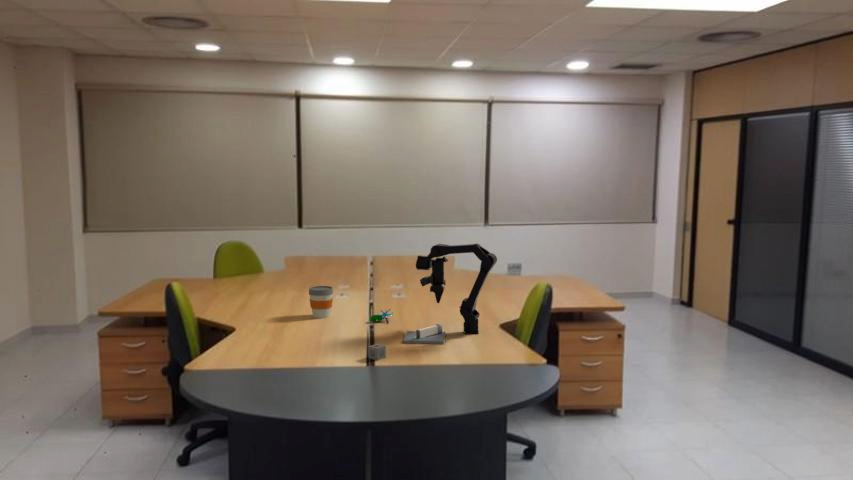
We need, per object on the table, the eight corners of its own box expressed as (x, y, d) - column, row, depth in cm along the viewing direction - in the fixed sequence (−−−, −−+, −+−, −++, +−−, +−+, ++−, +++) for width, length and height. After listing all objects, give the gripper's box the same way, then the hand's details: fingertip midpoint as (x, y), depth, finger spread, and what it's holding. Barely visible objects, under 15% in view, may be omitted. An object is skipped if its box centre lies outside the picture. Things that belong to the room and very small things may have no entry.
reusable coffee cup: (328, 319, 325) (328, 290, 323) (305, 318, 328) (304, 290, 326) (337, 313, 337) (336, 286, 336) (314, 312, 340) (314, 285, 338)
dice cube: (376, 355, 264) (376, 343, 264) (385, 357, 261) (385, 345, 261) (368, 358, 260) (368, 346, 260) (377, 360, 257) (377, 348, 257)
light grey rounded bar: (438, 331, 295) (438, 323, 295) (443, 332, 293) (443, 325, 292) (414, 337, 285) (414, 330, 284) (419, 339, 282) (419, 331, 282)
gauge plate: (445, 334, 296) (445, 331, 296) (443, 343, 280) (443, 340, 280) (407, 333, 297) (407, 330, 297) (403, 343, 282) (403, 340, 281)
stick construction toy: (393, 315, 325) (390, 305, 319) (396, 325, 320) (394, 315, 314) (370, 322, 323) (367, 313, 318) (374, 332, 318) (371, 323, 313)
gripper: (422, 267, 311) (423, 298, 313) (419, 274, 292) (419, 307, 294) (445, 267, 310) (445, 298, 311) (443, 274, 291) (443, 307, 293)
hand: (438, 303), depth 303 cm, fingers closed
